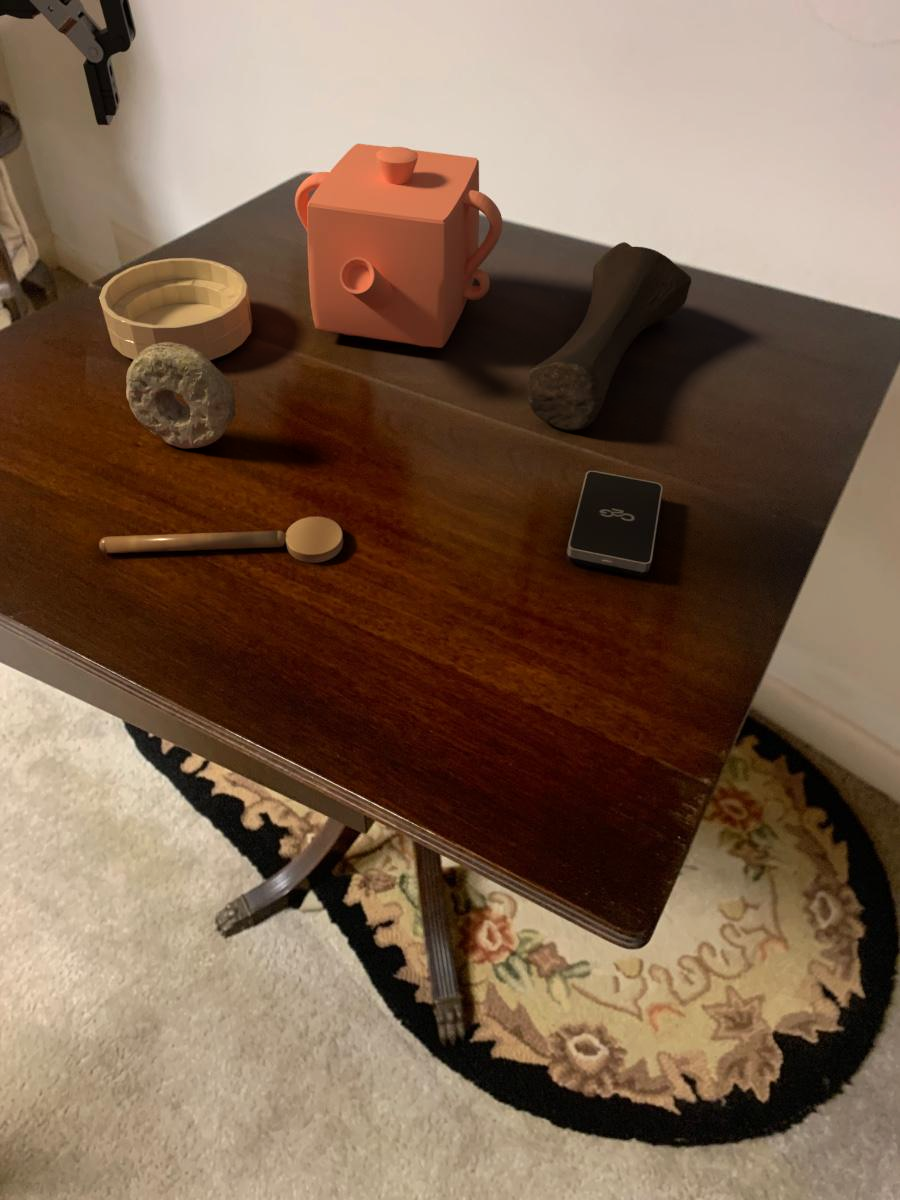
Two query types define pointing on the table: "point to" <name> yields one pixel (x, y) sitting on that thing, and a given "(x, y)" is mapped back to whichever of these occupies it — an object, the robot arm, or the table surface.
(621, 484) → the external hard drive
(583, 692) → the table surface
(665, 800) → the table surface
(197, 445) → the stone ring
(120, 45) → the robot arm
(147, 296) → the bowl
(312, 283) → the teapot
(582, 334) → the dark brown bone
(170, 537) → the spoon
